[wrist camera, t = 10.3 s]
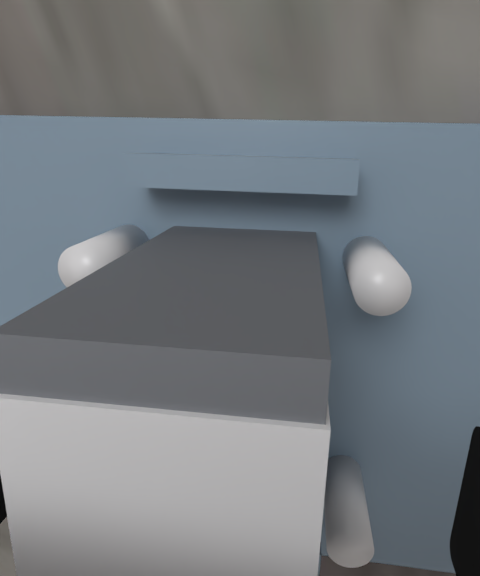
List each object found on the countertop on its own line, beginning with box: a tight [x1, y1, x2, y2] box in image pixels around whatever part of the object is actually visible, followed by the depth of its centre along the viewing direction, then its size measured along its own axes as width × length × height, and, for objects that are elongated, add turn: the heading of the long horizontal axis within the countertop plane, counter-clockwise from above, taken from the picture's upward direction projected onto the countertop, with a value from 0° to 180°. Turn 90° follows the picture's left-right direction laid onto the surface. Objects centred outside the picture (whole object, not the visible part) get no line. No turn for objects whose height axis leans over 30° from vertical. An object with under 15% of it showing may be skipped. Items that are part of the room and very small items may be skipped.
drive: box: [0, 226, 331, 576], centre depth 10 cm, size 4×8×8 cm, turn 179°
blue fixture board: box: [0, 115, 480, 576], centre depth 13 cm, size 20×14×4 cm
